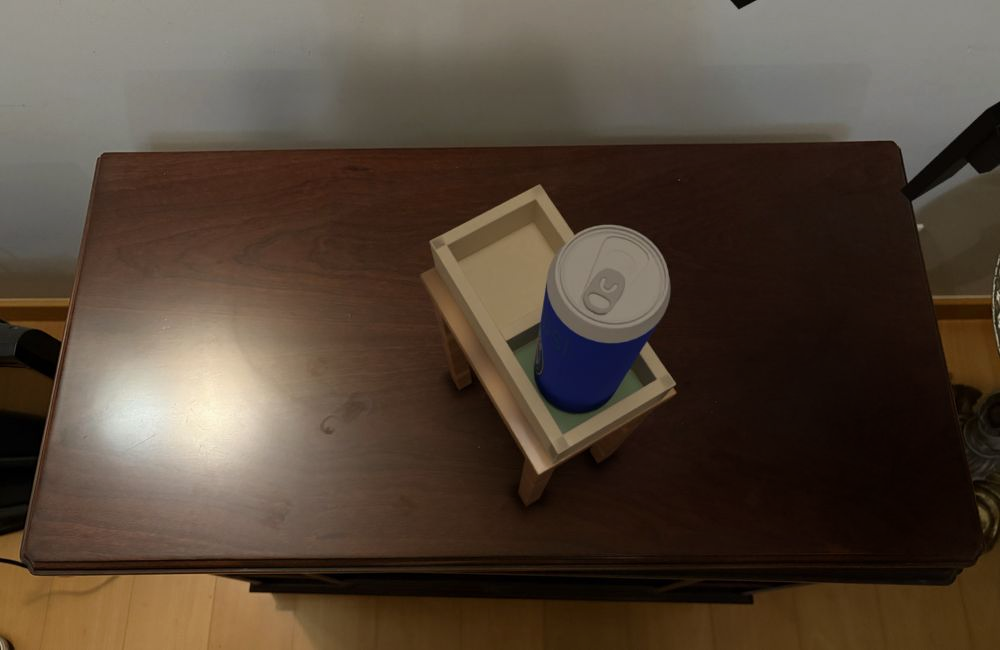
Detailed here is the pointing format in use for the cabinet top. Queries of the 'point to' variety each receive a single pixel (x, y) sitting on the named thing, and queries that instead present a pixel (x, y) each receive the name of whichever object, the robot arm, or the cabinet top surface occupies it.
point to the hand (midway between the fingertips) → (835, 84)
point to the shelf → (467, 350)
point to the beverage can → (597, 315)
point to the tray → (531, 316)
